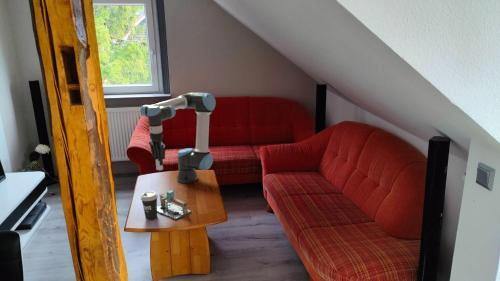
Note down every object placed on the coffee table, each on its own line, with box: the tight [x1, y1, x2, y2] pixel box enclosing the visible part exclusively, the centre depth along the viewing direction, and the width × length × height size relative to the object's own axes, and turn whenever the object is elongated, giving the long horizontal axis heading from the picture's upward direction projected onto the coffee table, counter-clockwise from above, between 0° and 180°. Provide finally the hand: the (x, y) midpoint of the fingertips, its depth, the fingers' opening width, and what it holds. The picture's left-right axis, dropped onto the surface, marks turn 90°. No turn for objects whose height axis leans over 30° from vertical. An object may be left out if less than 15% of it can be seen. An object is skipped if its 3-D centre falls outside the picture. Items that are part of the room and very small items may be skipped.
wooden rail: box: [159, 193, 189, 214], centre depth 223 cm, size 5×22×6 cm, turn 52°
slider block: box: [165, 189, 175, 210], centre depth 224 cm, size 6×3×10 cm, turn 142°
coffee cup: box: [140, 190, 158, 221], centre depth 214 cm, size 10×10×15 cm
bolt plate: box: [157, 202, 192, 221], centre depth 224 cm, size 12×22×1 cm, turn 52°
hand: (159, 169), depth 224 cm, fingers closed
